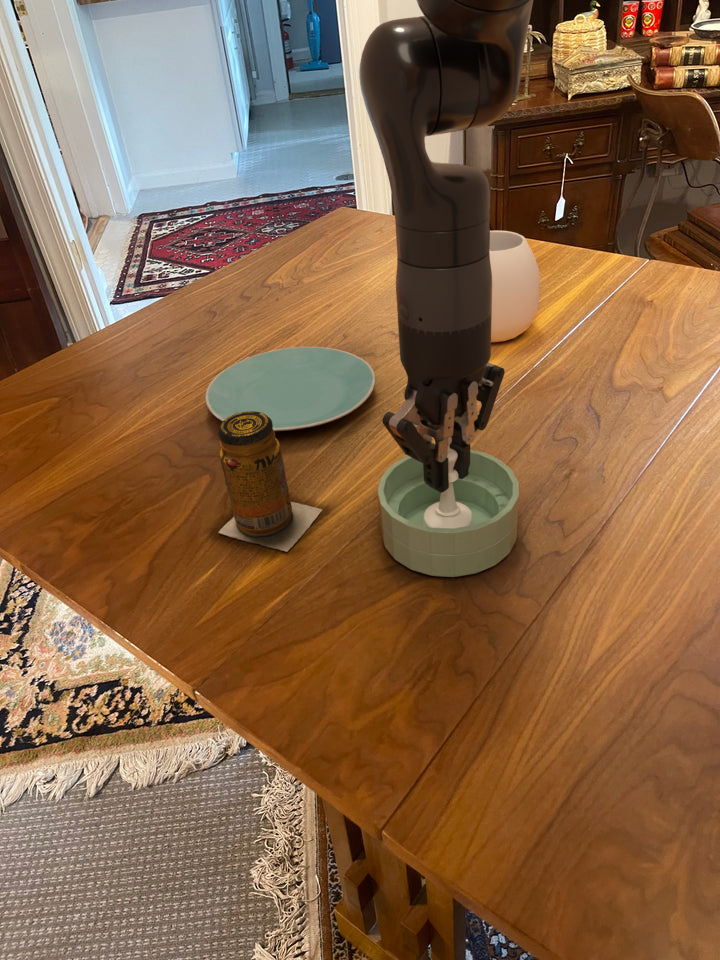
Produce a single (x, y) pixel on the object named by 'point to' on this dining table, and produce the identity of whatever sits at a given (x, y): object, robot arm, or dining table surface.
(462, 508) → the chess piece
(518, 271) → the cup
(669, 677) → the dining table surface
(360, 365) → the plate
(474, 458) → the bowl
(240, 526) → the condiment
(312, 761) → the dining table surface
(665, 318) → the dining table surface
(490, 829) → the dining table surface
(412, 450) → the robot arm
